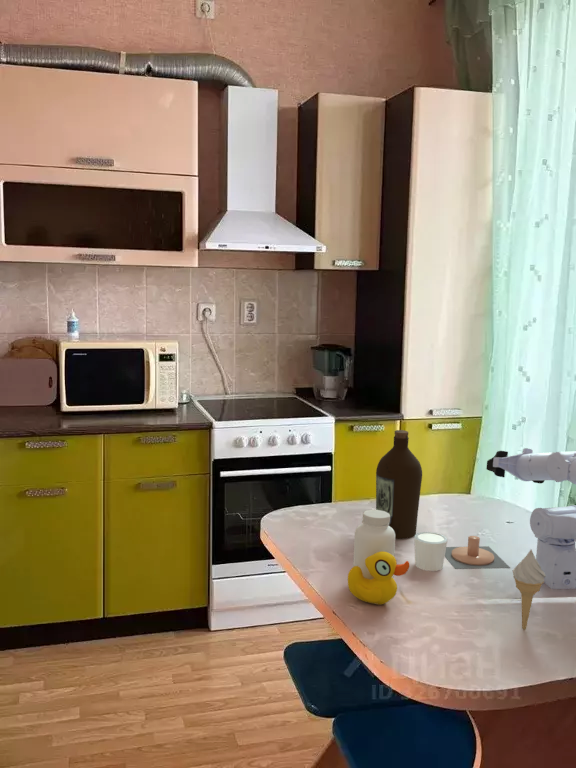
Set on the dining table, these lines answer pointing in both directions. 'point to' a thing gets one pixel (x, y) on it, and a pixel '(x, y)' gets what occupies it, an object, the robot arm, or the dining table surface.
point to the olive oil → (399, 486)
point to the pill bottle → (372, 538)
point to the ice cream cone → (528, 583)
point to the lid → (473, 553)
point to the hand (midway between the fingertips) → (502, 467)
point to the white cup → (429, 550)
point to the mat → (459, 565)
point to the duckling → (376, 578)
